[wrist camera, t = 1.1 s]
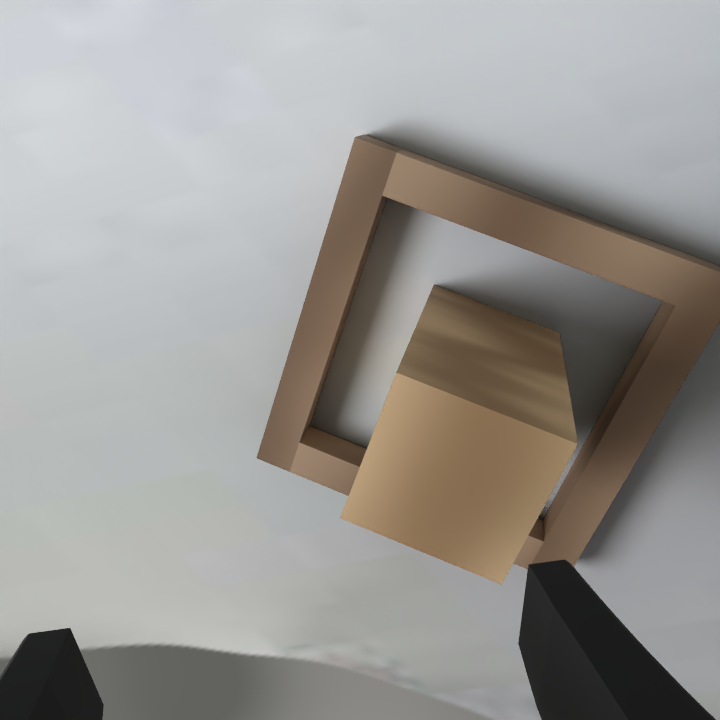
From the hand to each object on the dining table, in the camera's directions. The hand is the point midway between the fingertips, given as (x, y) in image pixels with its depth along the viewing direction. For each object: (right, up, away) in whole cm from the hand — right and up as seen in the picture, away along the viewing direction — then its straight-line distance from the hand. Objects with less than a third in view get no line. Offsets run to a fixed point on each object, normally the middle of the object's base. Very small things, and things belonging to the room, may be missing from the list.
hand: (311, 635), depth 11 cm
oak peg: (+4, +4, +10) cm, 12 cm away
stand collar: (+4, +4, +10) cm, 12 cm away
